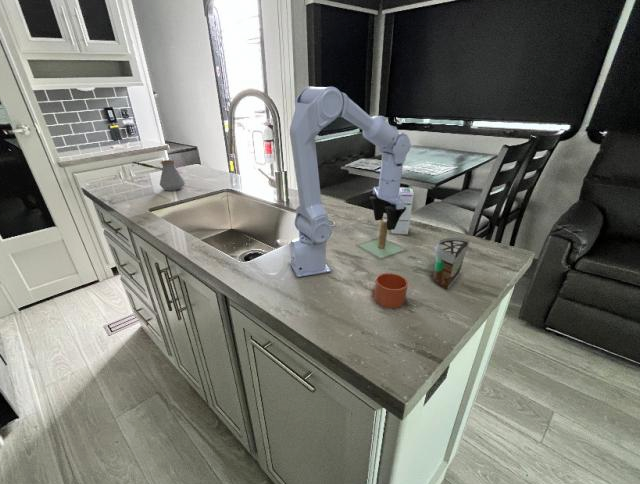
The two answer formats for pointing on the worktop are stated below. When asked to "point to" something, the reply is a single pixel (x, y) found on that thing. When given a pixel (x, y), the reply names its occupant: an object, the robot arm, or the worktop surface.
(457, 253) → the food container
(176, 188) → the coffee pot
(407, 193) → the syrup box
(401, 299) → the cup
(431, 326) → the worktop surface
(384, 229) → the stirrer
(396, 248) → the napkin
